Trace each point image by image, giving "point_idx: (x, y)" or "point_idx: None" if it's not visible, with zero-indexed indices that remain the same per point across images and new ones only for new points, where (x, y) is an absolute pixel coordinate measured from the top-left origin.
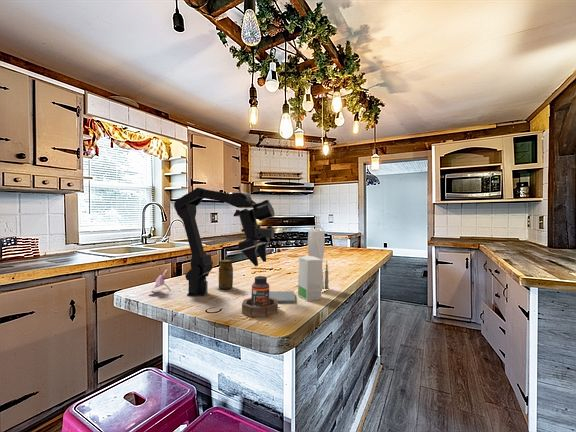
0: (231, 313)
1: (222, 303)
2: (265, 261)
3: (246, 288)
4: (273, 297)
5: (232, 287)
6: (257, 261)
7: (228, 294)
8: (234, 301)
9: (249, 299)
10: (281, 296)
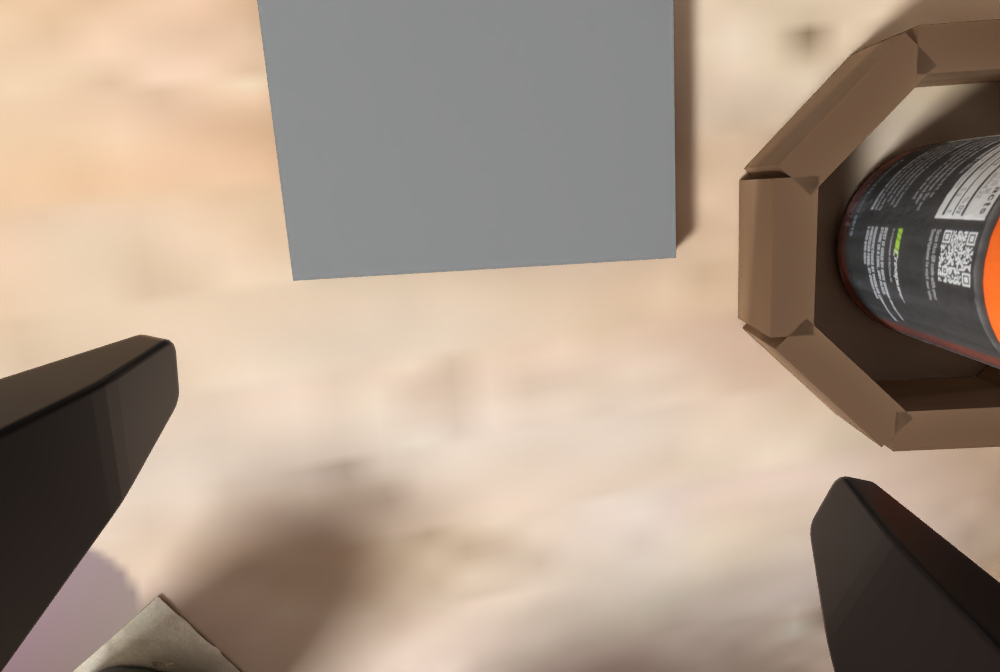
0: (978, 503)
1: (680, 644)
2: (172, 352)
3: (112, 516)
4: (548, 131)
5: (114, 669)
6: (933, 549)
7: (376, 654)
8: (612, 549)
9: (881, 390)
10: (500, 26)
